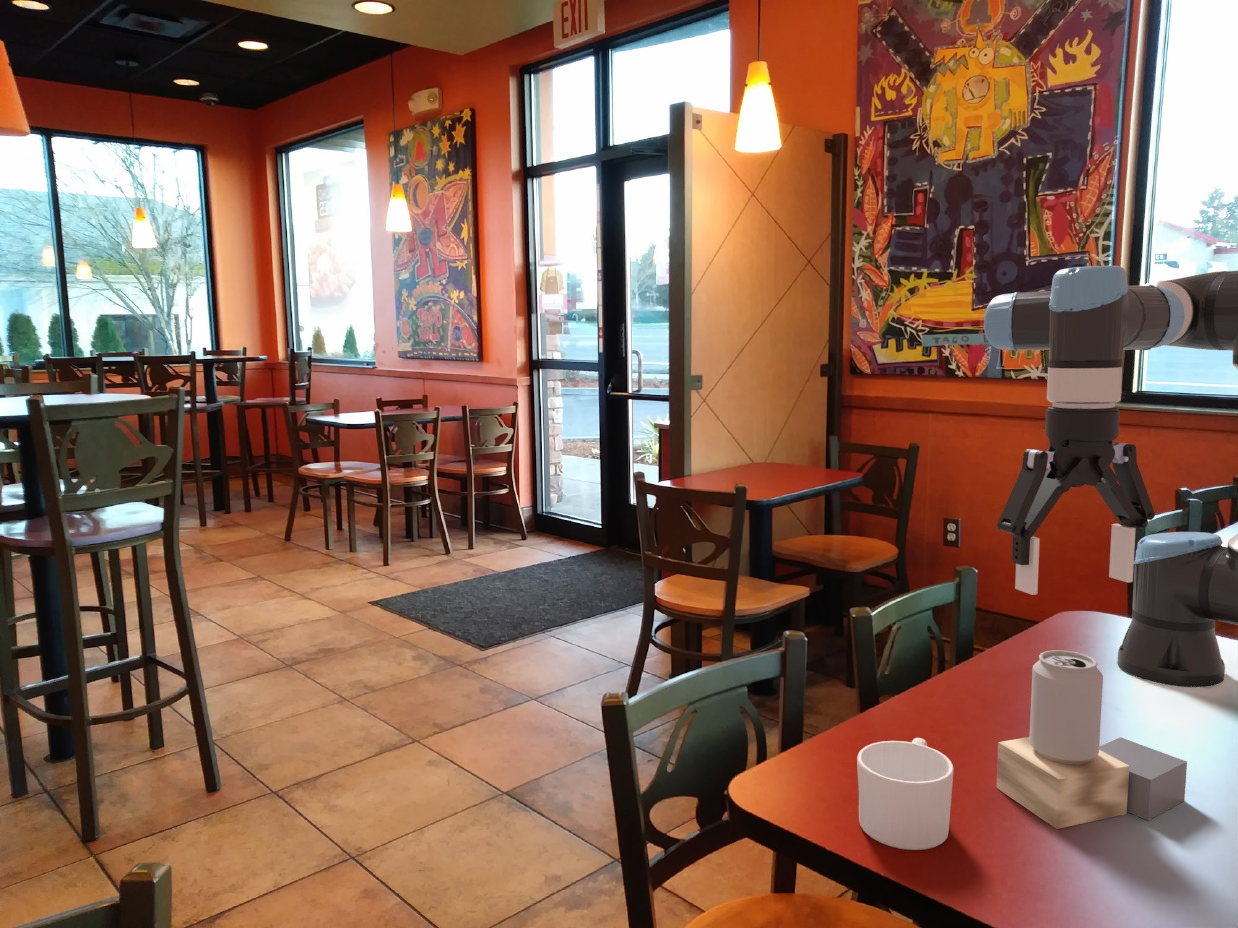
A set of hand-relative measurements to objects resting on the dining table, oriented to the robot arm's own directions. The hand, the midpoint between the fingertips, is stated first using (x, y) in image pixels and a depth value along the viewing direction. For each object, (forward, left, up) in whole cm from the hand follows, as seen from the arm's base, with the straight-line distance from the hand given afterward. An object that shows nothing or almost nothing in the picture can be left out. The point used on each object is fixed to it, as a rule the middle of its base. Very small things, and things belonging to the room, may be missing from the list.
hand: (1074, 585), depth 105 cm
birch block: (+1, 0, -27) cm, 27 cm away
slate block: (-8, +2, -27) cm, 28 cm away
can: (+1, 0, -21) cm, 21 cm away
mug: (+21, -2, -27) cm, 34 cm away
